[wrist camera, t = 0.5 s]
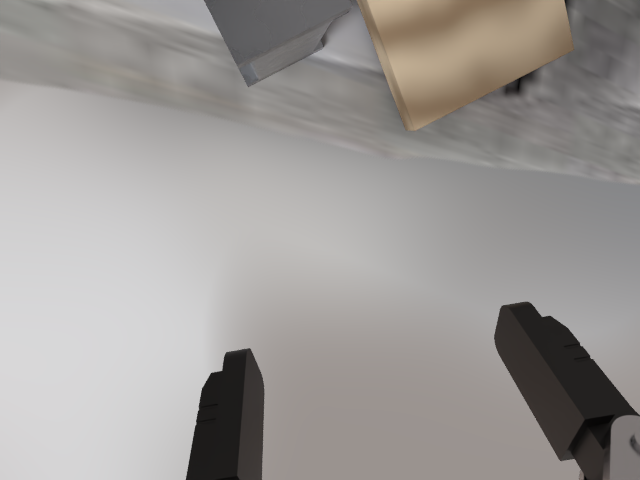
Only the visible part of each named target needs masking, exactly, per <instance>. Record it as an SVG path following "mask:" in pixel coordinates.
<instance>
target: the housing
mask: <svg viewBox="0 0 640 480" xmlns="http://www.w3.org/2000/svg"><path fill="white" fill-rule="evenodd" d="M204 1H205V3H206V5H207V7H208V9H209V11H210V13H211V15H212V17H213V19H214V21H215V23H216V25H217V27H218V29H219V31H220V33H221V35H222V37H223V39H224V41H225V43H226V45H227V47H228V49H229V50H230V52H231V54H232V56H233V58H234V60H235V62H236V64H237V66H238V68H239V70H240V72H241V74H242V76H243V78H244V80H245V82H246V84H247V86H248V87H249V86H251V85H253V84H255V83H257V82H259V81H261V80H263V79H265V78H267V77H269V76H271V75H273V74H275V73H277V72H278V71H280V70H282V69H284V68H286V67H288V66H290V65H292V64H294V63H296V62H298V61H300V60H302V59H304V58H306V57H308V56H310V55H312V54H313V53H315V52H317V51H319V50H321V49H322V48H323V47H324V46H323V44H322V41H321V38H322V36H323V35H324V33H325V32H326V30H327V28H328V27H329V25H330V23H331V22H332V20H334V19H336V18H338V17H340V16H342V15H344V14H346V13H348V12H349V10H350V9H351V8H352V3H351V1H350V0H204Z"/></svg>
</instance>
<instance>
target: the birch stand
mask: <svg viewBox="0 0 640 480" xmlns="http://www.w3.org/2000/svg"><path fill="white" fill-rule="evenodd" d="M357 2H358V5H359V7H360V10H361V13H362V15H363V18H364V20H365V23H366V26H367V28H368V31H369V34H370V36H371V39H372V42H373V44H374V47H375V50H376V52H377V55H378V58H379V60H380V63H381V66H382V68H383V71H384V73H385V76H386V79H387V81H388V84H389V87H390V89H391V92H392V95H393V97H394V100H395V103H396V105H397V108H398V111H399V113H400V116H401V119H402V121H403V124H404V126H405V129H406V130H410V131H416V130H418V129H420V128H421V127H423V126H425V125H427V124H429V123H431V122H433V121H435V120H437V119H439V118H441V117H443V116H445V115H447V114H449V113H451V112H453V111H455V110H457V109H459V108H461V107H463V106H465V105H467V104H469V103H471V102H473V101H475V100H477V99H479V98H480V97H482V96H484V95H486V94H488V93H490V92H492V91H494V90H496V89H498V88H500V87H502V86H504V85H506V84H508V83H510V82H512V81H514V80H516V79H518V78H520V77H522V76H524V75H526V74H528V73H530V72H532V71H534V70H536V69H537V68H539V67H541V66H543V65H545V64H547V63H549V62H551V61H553V60H555V59H557V58H559V57H561V56H563V55H565V54H567V53H569V52H571V51H573V50H574V46H573V41H572V36H571V31H570V26H569V21H568V16H567V11H566V6H565V1H564V0H357Z"/></svg>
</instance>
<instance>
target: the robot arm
mask: <svg viewBox="0 0 640 480" xmlns="http://www.w3.org/2000/svg"><path fill="white" fill-rule="evenodd" d="M494 339H495V345H496V348H497V351H498V353H499V355H500V357H501V359H502V361H503V362H504V364H505V366H506V368H507V369H508V371H509V373H510V375H511V376H512V378H513V380H514V382H515V383H516V385H517V387H518V389H519V390H520V392H521V394H522V396H523V397H524V399H525V401H526V402H527V404H528V406H529V408H530V409H531V411H532V413H533V415H534V416H535V418H536V420H537V422H538V423H539V425H540V427H541V428H542V430H543V432H544V434H545V436H546V437H547V439H548V441H549V442H550V444H551V446H552V448H553V449H554V451H555V453H556V455H557V456H558V458H559V460H560V461H563V460H570V459H575V460H576V462H577V463H578V465H579V467H580V469H581V470H580V475H579V480H640V415H639V414H638V413H637V412H635V410H634V409H633V408H632V407H631V406H630V405H629V403H628V402H627V401H626V400H625V399H624V397H623V396H622V395H621V394H620V392H619V391H618V390H617V389H616V387H615V386H614V385H613V384H612V382H611V381H610V380H609V379H608V378H607V376H606V375H605V374H604V373H603V371H602V370H601V369H600V368H599V366H598V365H597V364H596V363H595V361H594V360H593V359H591V358H590V355H589V354H588V353H587V351H586V350H585V349H584V348H583V347H582V346H580V343H579V342H578V340H577V339H576V338H575V337H574V335H573V334H572V333H571V332H570V330H569V329H568V328H567V327H566V326H564V325H563V324H561V323H560V322H558V321H557V320H555V319H554V318H553V317H551V316H546V317H541V315H540V314H539V313H538V311H537V310H536V309H535V307H534V306H533V305H532V304H531V303H529V302H521V303H515V304H510V305H503V306H502V307H501V309H500V313H499V317H498V322H497V326H496V331H495V335H494ZM263 420H264V383H263V378H262V374H261V372H260V370H259V367H258V365H257V362H256V361H255V358H254V356H253V353H252V351H251V349H250V348H249V349H242V350H237V351H231V352H226V354H225V357H224V362H223V370H222V371H220V372H214V373H211V374H210V376H209V378H208V380H207V381H206V383H205V385H204V387H203V388H202V392H201V397H200V403H199V411H198V414H197V420H196V422H197V424H196V426H195V431H194V437H193V443H192V448H191V454H190V460H189V465H188V471H187V476H186V480H262V454H263V453H262V452H263Z"/></svg>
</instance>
